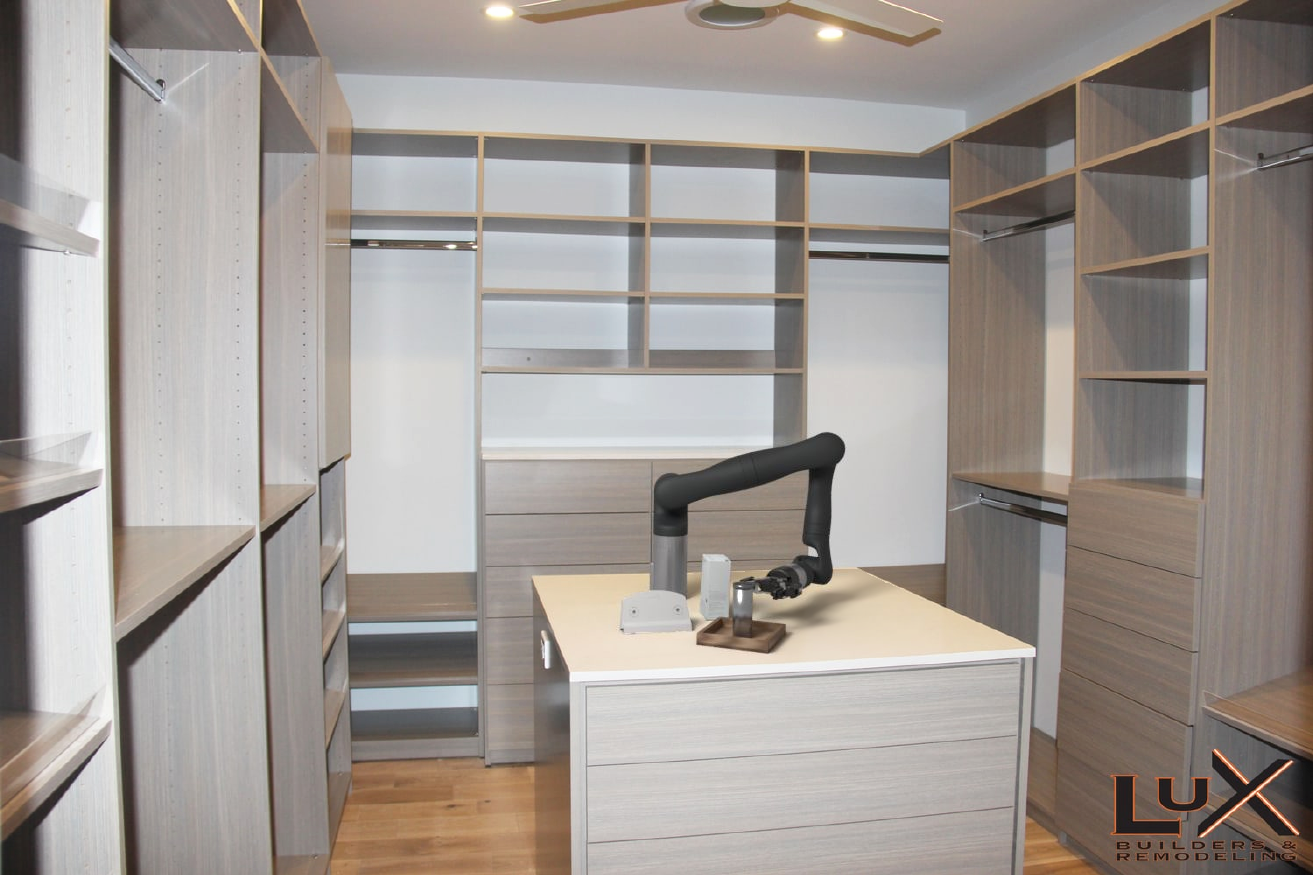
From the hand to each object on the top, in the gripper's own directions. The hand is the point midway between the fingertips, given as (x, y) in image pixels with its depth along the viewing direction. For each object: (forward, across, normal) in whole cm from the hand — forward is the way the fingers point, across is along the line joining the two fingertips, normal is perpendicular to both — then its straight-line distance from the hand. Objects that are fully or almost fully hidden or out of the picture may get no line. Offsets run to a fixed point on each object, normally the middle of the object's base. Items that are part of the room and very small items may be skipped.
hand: (757, 592), depth 208 cm
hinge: (+11, -21, +10) cm, 25 cm away
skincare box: (-7, -15, +9) cm, 19 cm away
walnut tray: (+8, 0, +9) cm, 12 cm away
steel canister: (+8, 0, +8) cm, 11 cm away
